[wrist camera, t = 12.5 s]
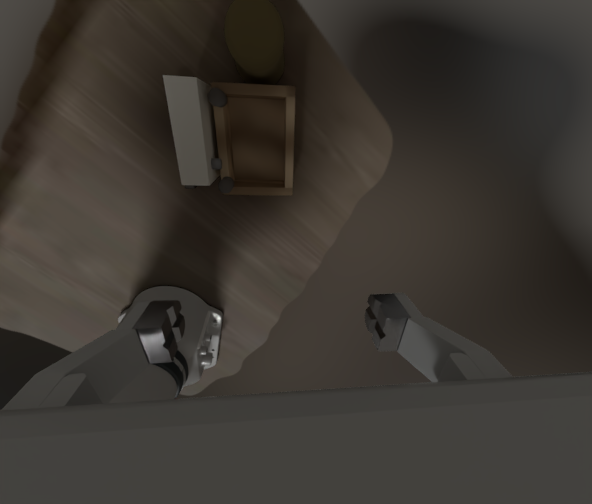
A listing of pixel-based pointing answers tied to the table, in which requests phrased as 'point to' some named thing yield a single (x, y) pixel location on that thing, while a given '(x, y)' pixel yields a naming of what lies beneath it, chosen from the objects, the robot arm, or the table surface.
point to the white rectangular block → (193, 129)
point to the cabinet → (254, 137)
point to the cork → (255, 40)
